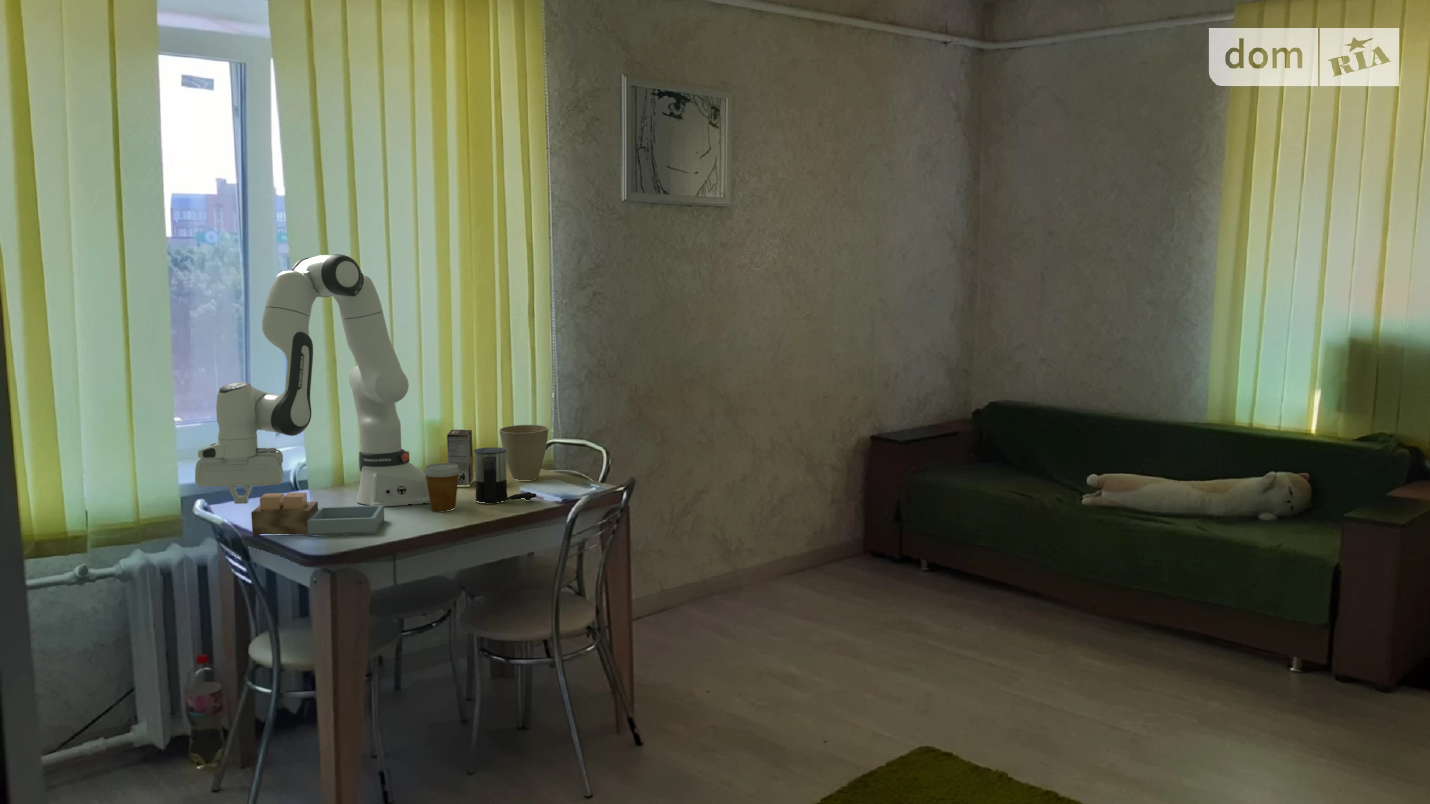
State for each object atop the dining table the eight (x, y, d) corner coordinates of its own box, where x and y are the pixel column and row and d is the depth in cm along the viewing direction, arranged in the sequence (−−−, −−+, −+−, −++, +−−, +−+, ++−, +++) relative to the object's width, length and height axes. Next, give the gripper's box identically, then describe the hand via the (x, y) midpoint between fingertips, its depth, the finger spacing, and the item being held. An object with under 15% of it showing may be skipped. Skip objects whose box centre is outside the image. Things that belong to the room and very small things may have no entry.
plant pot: (502, 474, 334) (501, 425, 332) (550, 474, 336) (549, 424, 334) (498, 485, 320) (497, 432, 317) (548, 484, 321) (547, 432, 319)
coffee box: (452, 481, 325) (451, 429, 323) (474, 481, 325) (472, 429, 323) (447, 487, 316) (446, 434, 314) (469, 487, 316) (468, 434, 314)
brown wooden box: (318, 524, 273) (317, 501, 272) (309, 534, 263) (308, 510, 262) (263, 526, 271) (262, 503, 270) (252, 536, 261) (251, 512, 260)
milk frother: (471, 499, 301) (469, 448, 299) (525, 493, 308) (524, 443, 306) (484, 510, 288) (482, 456, 286) (540, 504, 295) (539, 451, 293)
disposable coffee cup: (467, 506, 292) (465, 463, 291) (451, 514, 283) (449, 470, 282) (435, 504, 295) (434, 462, 293) (418, 512, 285) (417, 468, 284)
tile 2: (307, 503, 269) (306, 492, 269) (302, 508, 264) (301, 496, 264) (288, 504, 269) (288, 492, 268) (283, 509, 264) (283, 497, 263)
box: (384, 520, 277) (383, 505, 277) (375, 533, 263) (374, 518, 263) (320, 522, 275) (319, 507, 274) (308, 536, 261) (307, 520, 260)
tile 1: (284, 504, 268) (283, 493, 268) (279, 509, 264) (278, 497, 263) (265, 505, 268) (265, 493, 267) (260, 509, 263) (259, 498, 262)
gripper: (285, 445, 267) (288, 499, 269) (199, 447, 264) (202, 501, 266) (279, 450, 261) (281, 504, 263) (190, 451, 258) (194, 507, 260)
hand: (241, 503), depth 264 cm, fingers closed
